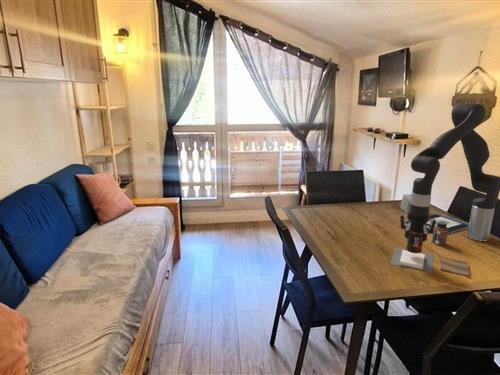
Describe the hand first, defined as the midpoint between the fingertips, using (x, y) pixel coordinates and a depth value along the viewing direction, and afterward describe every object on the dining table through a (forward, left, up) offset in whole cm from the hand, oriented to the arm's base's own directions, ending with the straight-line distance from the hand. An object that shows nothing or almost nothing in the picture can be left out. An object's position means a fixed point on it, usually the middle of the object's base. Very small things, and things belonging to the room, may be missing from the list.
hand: (415, 239), depth 143 cm
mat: (-1, 0, -10) cm, 10 cm away
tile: (-5, 0, -9) cm, 10 cm away
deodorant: (0, 0, -5) cm, 5 cm away
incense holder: (-70, -6, -11) cm, 71 cm away
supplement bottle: (-25, +10, -11) cm, 29 cm away
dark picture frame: (-52, +9, -11) cm, 54 cm away
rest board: (-2, +16, -10) cm, 19 cm away
